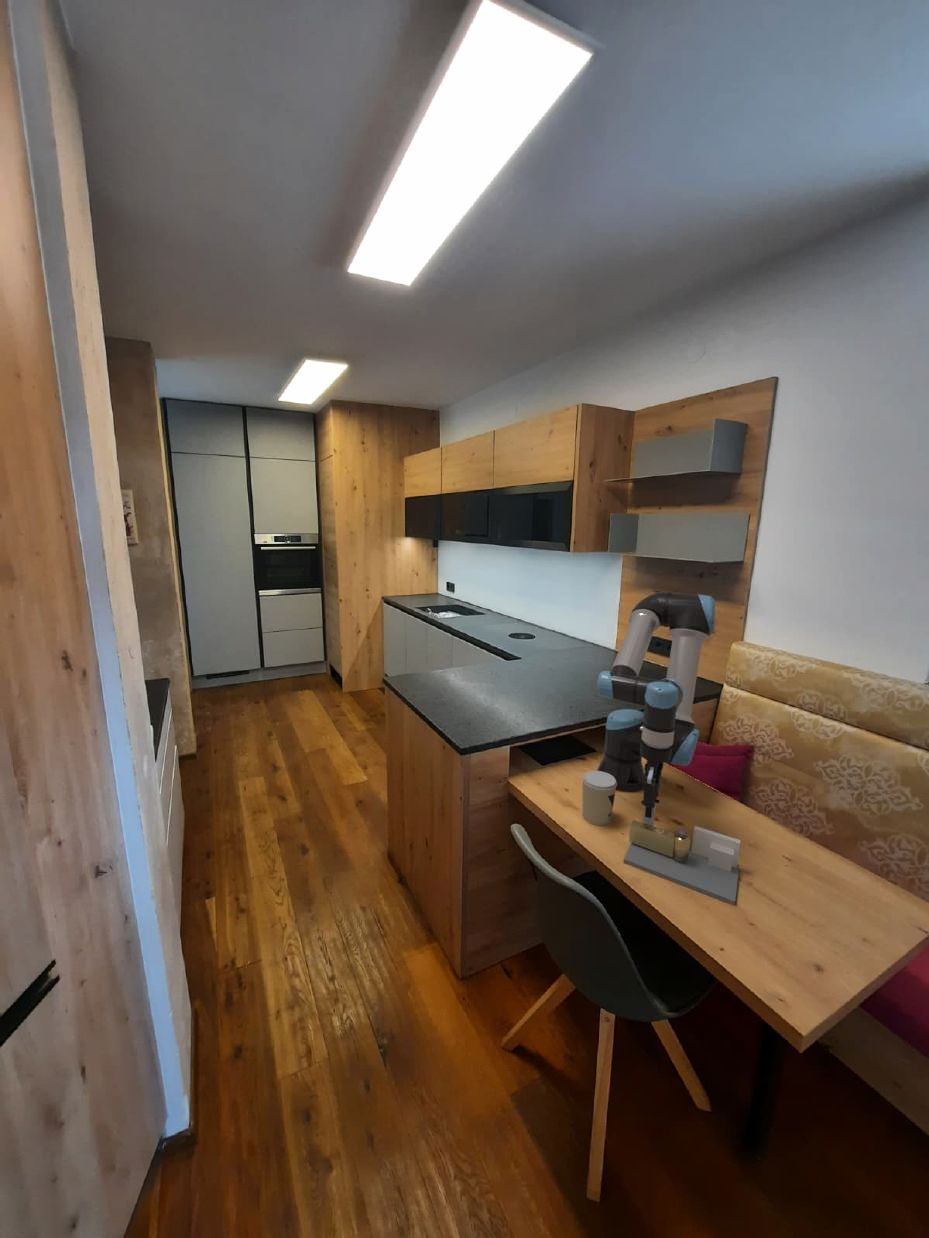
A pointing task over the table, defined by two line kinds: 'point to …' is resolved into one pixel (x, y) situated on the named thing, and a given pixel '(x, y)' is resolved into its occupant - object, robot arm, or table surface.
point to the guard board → (696, 864)
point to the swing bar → (660, 840)
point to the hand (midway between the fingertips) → (647, 825)
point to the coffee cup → (598, 797)
